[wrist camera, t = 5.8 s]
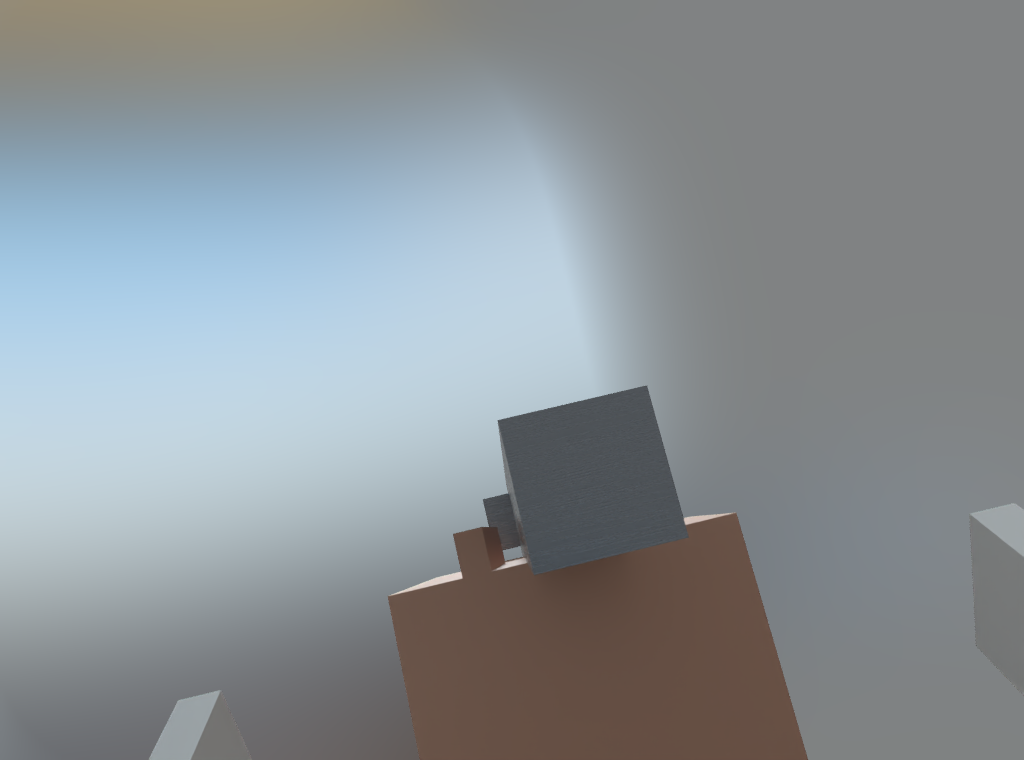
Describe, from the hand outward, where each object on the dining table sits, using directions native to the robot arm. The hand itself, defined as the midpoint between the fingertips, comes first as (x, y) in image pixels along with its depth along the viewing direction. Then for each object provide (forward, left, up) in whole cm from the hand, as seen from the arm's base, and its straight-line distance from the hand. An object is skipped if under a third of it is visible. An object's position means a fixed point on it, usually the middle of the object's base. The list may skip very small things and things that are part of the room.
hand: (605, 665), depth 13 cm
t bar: (0, +14, +2) cm, 14 cm away
